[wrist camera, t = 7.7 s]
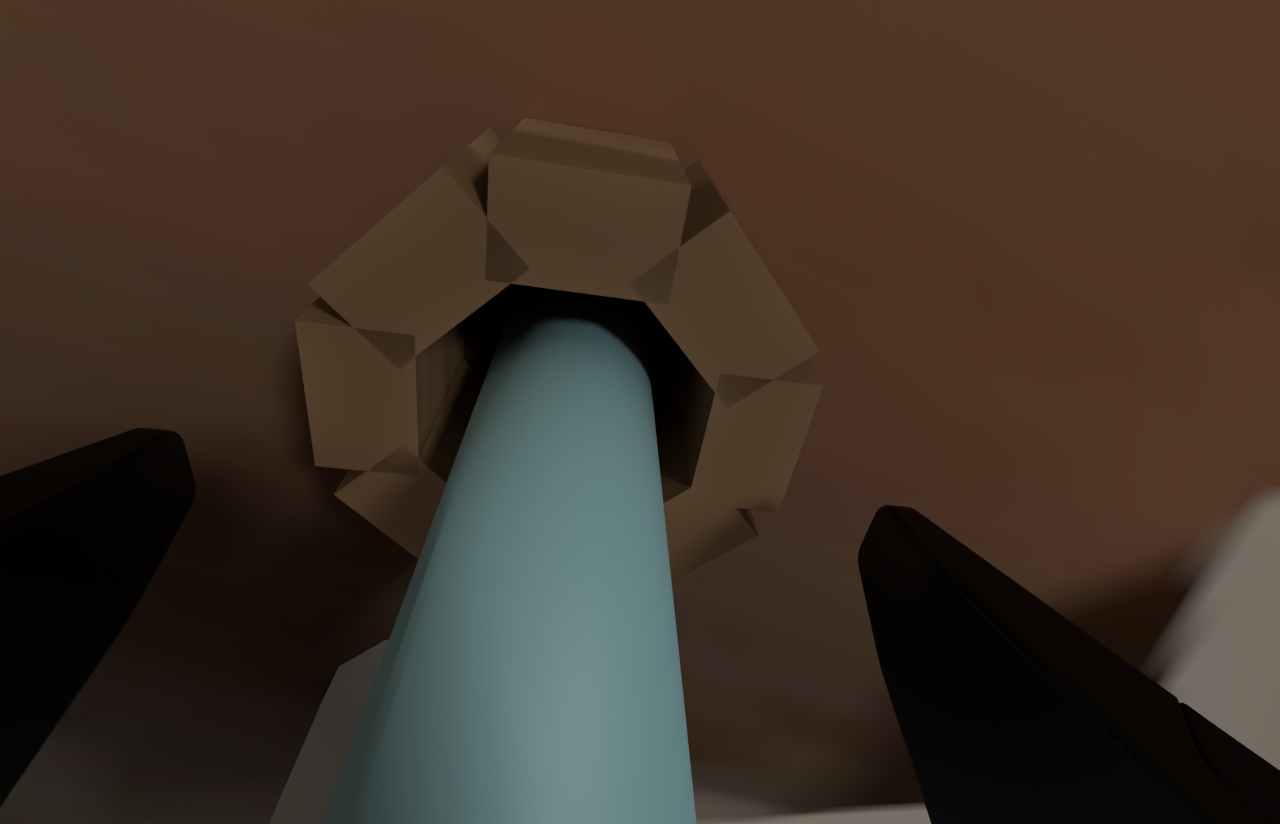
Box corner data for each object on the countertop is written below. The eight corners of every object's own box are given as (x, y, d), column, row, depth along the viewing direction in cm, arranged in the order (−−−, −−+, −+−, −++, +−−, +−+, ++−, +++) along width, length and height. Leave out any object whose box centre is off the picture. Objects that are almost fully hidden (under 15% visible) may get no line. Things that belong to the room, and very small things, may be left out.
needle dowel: (655, 279, 12) (756, 878, 4) (634, 401, 14) (669, 1037, 5) (509, 258, 12) (238, 863, 3) (503, 386, 13) (304, 1039, 5)
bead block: (811, 165, 11) (883, 216, 8) (717, 496, 15) (742, 613, 12) (367, 92, 10) (265, 118, 7) (391, 463, 14) (331, 579, 11)
